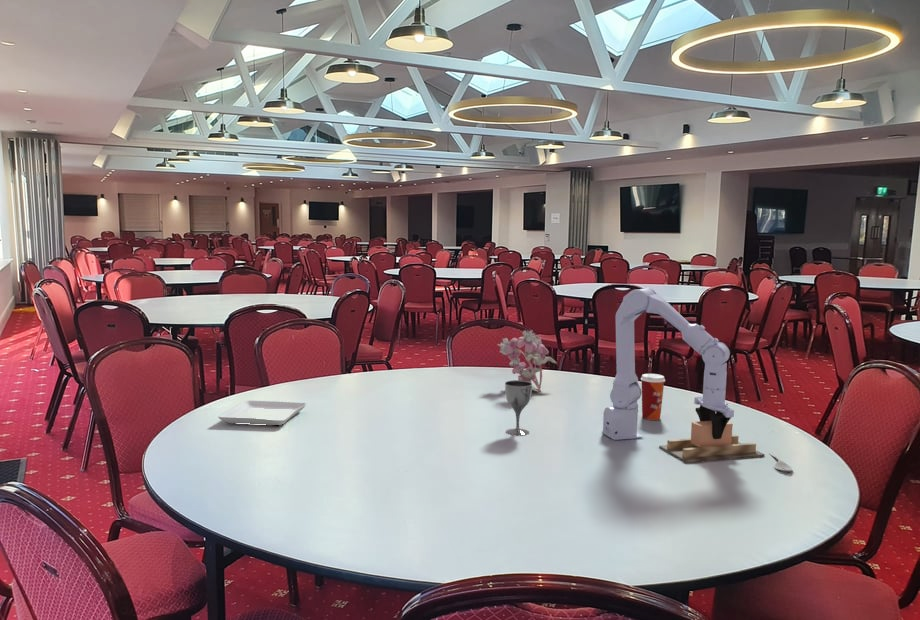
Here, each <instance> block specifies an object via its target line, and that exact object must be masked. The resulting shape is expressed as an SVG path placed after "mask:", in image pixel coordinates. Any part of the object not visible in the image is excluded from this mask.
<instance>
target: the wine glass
mask: <svg viewBox="0 0 920 620" xmlns="http://www.w3.org/2000/svg"><path fill="white" fill-rule="evenodd" d="M532 387H533V383H532V381H531V382H528V381H521V380H508V381H505V383H504V391H505V398H506V401H507V404H508V405H509V406H510V407H511V409H512V411H514V414H515V421H516V422H515V423H516V425H515V428H509V429H506V430H505V433H506V434H507V433H508V435H509V434H510V436H514V435H516V436H515V437H522V436H521V435H524V436H527V434H528V435H529V434H530V431H529V430H527V429H525V428H520V417H521V413H522V411H523V410H524V409H525V408H526V406H528V405H529V403H530V400H531V397H532V391H533V390H532ZM519 435H520V436H519Z"/></svg>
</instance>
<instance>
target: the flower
mask: <svg viewBox="0 0 920 620" xmlns="http://www.w3.org/2000/svg"><path fill="white" fill-rule="evenodd" d="M522 335H523V336H520V337H519V336H518V338H517V337H513V338H512V339H510V340H508V338H507V337H505V338H502V339H501V340H502V341H501V342H500V344H499V343H497V346H498V347H500V350H499V353H501V354H502V355H504V356H508V357H507V358H508V359H509V360H510V362H509V366H510V367H513V368H512V369H511V373H512V374H513V375H515V374H519V375H517V377H518V378H517V379H518V380H521V381H528V382H531V383H532V382H533V383H534V385H535V386H536V387H535V386H532V391H536V392H538V393H540V394H543V392H542V390H541V386H542V381H543V369H542V364H543V365H544V364H546V363H547V362H551V363H552V364H556V365H558V362H557V361H556V360H555V359H554V358H552V357H551V356H547V355H549V353H550V351H549V350H548V349H547V347H545V345H544V344H543V343H542V336H540V337H537V336H538V334H535V333H534V332H533V329H531V330H526V329H525V330H523V331H522ZM522 347H524V352H523V351H522V350H521V348H522ZM521 354H522V355H523V356H524V358H525V360H526V361H527V363H528V366H529V367H527V364H526V362H525V361H522V362H521V359H520V358H519V357H520V356H521ZM531 360H532V362H531ZM532 363H533V364H532ZM533 365H535V366H539V367H533ZM537 373H539V381H538V378H537V375H536V374H537Z"/></svg>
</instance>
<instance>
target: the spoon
mask: <svg viewBox="0 0 920 620" xmlns="http://www.w3.org/2000/svg"><path fill="white" fill-rule="evenodd" d="M768 454H769V455H770V456H772V457H773V458H774V459H776V460H777V462H775V464H774V467H773V468H775V469H776V470H778V471H780V472H785V473H786V472H792V471H793V468H792V467H791V465H788V464H787V463H786V462H784V460H782V459H781V458H780V457H779V455H778V454H777V453H776V452H774V451H769V452H768Z"/></svg>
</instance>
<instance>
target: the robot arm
mask: <svg viewBox="0 0 920 620" xmlns="http://www.w3.org/2000/svg"><path fill="white" fill-rule="evenodd" d="M622 298H623V299H622V302H621V303H620V305H619V307H618V309H617V311H616V312H615V353H616V355H615V356H616V357H615V358H616V359H615V361H616V374H615V378H614V379H613V382H612V389H611V390H610V394H609V400H610V402H611V403H612V405H611V406H607V407H605V408H604V410H603V417H602V418H603V419H602V421H603V422H602V430H601V433H602V434H604V435H605V436H606V437H609V438H610V439H612V440H613V441H617V440H618V441H619V440H630V439H631V440H633V439H642V438H644V437H643V435H641V434H640V433H639V432H638V416H639V415H638V414H639V404H638V400H640V399H641V398H642V387H641V386H640V384H639V378H638V375H637V373H636V362H635V359H636V356H635V355H636V352H635V351H636V350H635V344H636V343H635V321H636V320H637V319H638V318H639V317H640V316H641V315H642V314H643V313H644V312H645V313H646V314H647V313H648V314H657V315H659V316H661V318H663V319H664V320H665V321H667V322H668V323H670V324H671V325H672V326H674V328H676V329H677V330H678V331H679V332H681V338H682V341H684V342H685V343H687V344H688V345H689V346H690V347H691V348H692V349H693V350H694V351H695V352H697V353H698V354H699V355H701V358H702V361H703V363H704V370H703V371H704V372H703V388H702V396H695V397H694V401H693V402H694V403H693V404H694V405H699V407H696V408H695V412H696V415H697V417H698V418H699V421H711V422H712V435H713V439H721V437H722V434H723V431H724V429H725V426H726V424H727V423H728V422H729V421H730V420H731V419H732V418H734V416H735V410H734V409H733V408H731V407H730V406H728V405H729V403H728V402H726V391H727V390H726V389H727V374H728V372H727V368H728V367H727V366H728V363H727V361H728V360H729V359H730V355H731V351H730V349H729V347H728V346H727V344H725V343H724V342H720V340H719V339H718V338H717V337H713V336H712V335H711V334H710V333H709V332H707V331H706V330H705V329H706V327H705V326H704V325H703V324H701V325H699V324H698V323H690V322H689V321H688V320H687V319H686V318H685V317H684V316H682V315H681V314H680V313H679V312H678V311H677V310H676V309H675V307H673V306H672V305H671V304H670V303H669V302H668V301H667V300H666V299H665V298H664V297H663V296H662V295H661V294H659V293H657V292H656V291H655V290H654V289H653V288H651V287H644V288H640V289H632V290H631V291H629V292H628V293H627V294H625V295H624V296H623V297H622Z"/></svg>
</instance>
